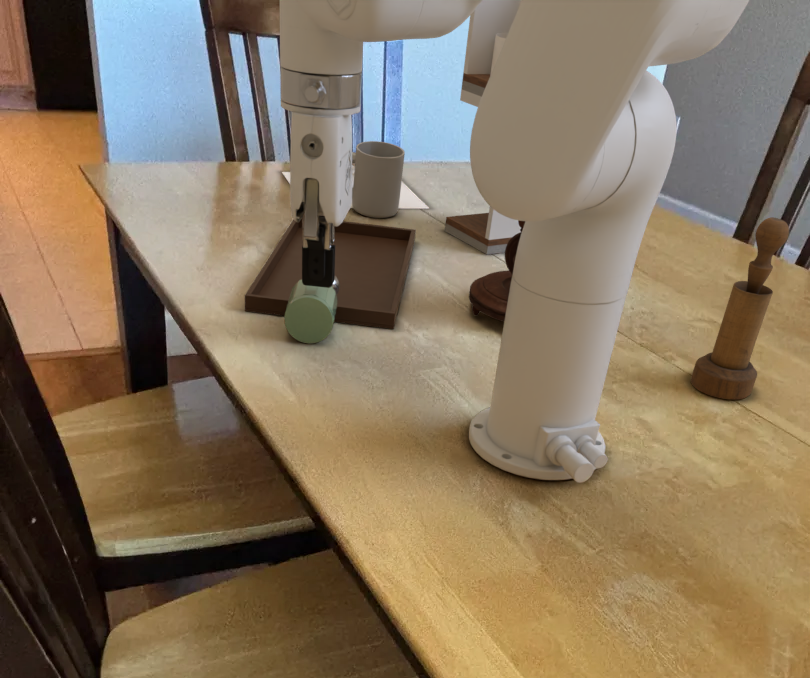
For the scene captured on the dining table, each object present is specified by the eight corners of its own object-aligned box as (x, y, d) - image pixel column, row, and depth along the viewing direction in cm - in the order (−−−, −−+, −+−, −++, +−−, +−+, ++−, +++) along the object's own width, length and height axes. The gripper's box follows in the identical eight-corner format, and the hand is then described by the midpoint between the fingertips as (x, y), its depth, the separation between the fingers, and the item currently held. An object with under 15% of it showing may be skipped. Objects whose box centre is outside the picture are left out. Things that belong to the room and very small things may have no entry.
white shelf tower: (504, 224, 136) (547, -45, 115) (548, 246, 129) (601, -35, 108) (444, 230, 130) (477, -51, 110) (486, 254, 123) (530, -41, 103)
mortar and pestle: (705, 367, 99) (757, 205, 88) (760, 387, 96) (821, 221, 85) (680, 385, 95) (732, 216, 84) (736, 406, 92) (798, 234, 81)
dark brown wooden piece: (558, 352, 99) (597, 166, 87) (445, 315, 104) (467, 136, 92) (604, 314, 109) (645, 143, 97) (499, 283, 115) (526, 118, 103)
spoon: (322, 308, 93) (339, 232, 98) (294, 305, 93) (312, 230, 98) (326, 360, 100) (342, 286, 105) (301, 357, 100) (317, 284, 105)
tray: (393, 329, 100) (395, 313, 98) (244, 311, 100) (244, 295, 99) (414, 243, 125) (415, 229, 124) (295, 228, 125) (295, 215, 124)
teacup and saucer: (316, 185, 144) (317, 158, 141) (363, 185, 146) (364, 159, 143) (328, 201, 137) (329, 174, 135) (377, 201, 139) (379, 174, 137)
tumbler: (342, 313, 92) (345, 292, 97) (297, 288, 91) (303, 268, 96) (319, 352, 95) (324, 329, 100) (275, 328, 93) (282, 307, 98)
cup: (396, 221, 132) (402, 161, 126) (330, 212, 132) (334, 150, 126) (399, 204, 138) (406, 145, 132) (337, 195, 137) (341, 135, 132)
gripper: (349, 109, 75) (343, 313, 86) (370, 82, 87) (362, 264, 98) (263, 100, 75) (268, 305, 86) (296, 76, 87) (296, 258, 98)
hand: (318, 283), depth 92 cm, fingers closed
